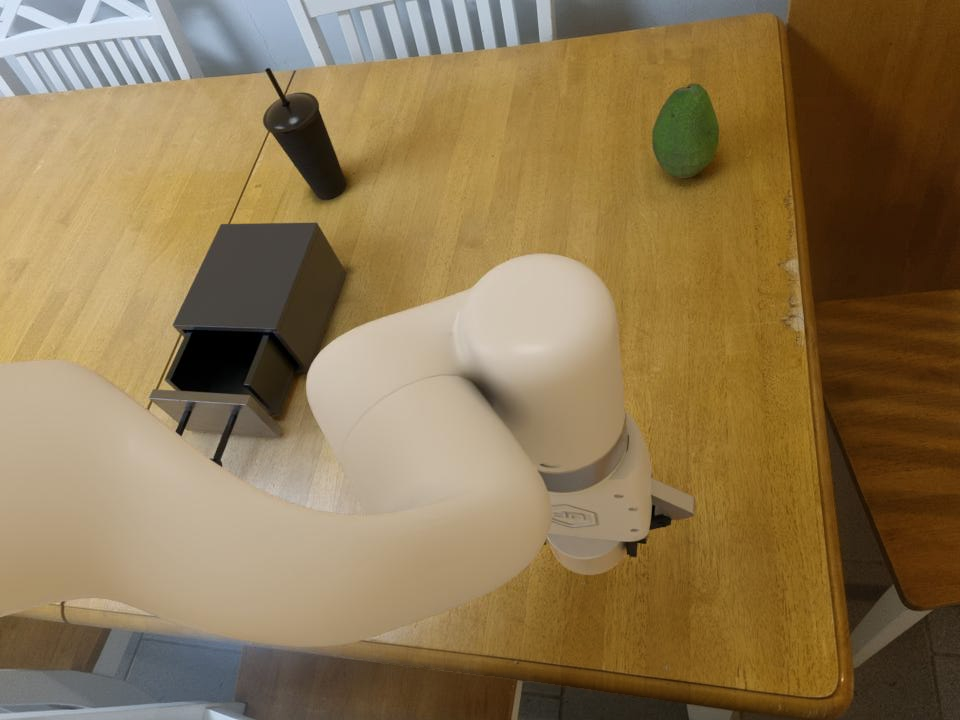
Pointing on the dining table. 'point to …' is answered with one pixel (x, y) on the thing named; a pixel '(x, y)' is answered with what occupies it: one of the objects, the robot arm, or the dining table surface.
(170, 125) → the dining table surface
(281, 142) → the drinking cup
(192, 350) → the drawer
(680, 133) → the fruit
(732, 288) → the dining table surface
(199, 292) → the cabinet
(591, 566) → the white cylindrical puck
